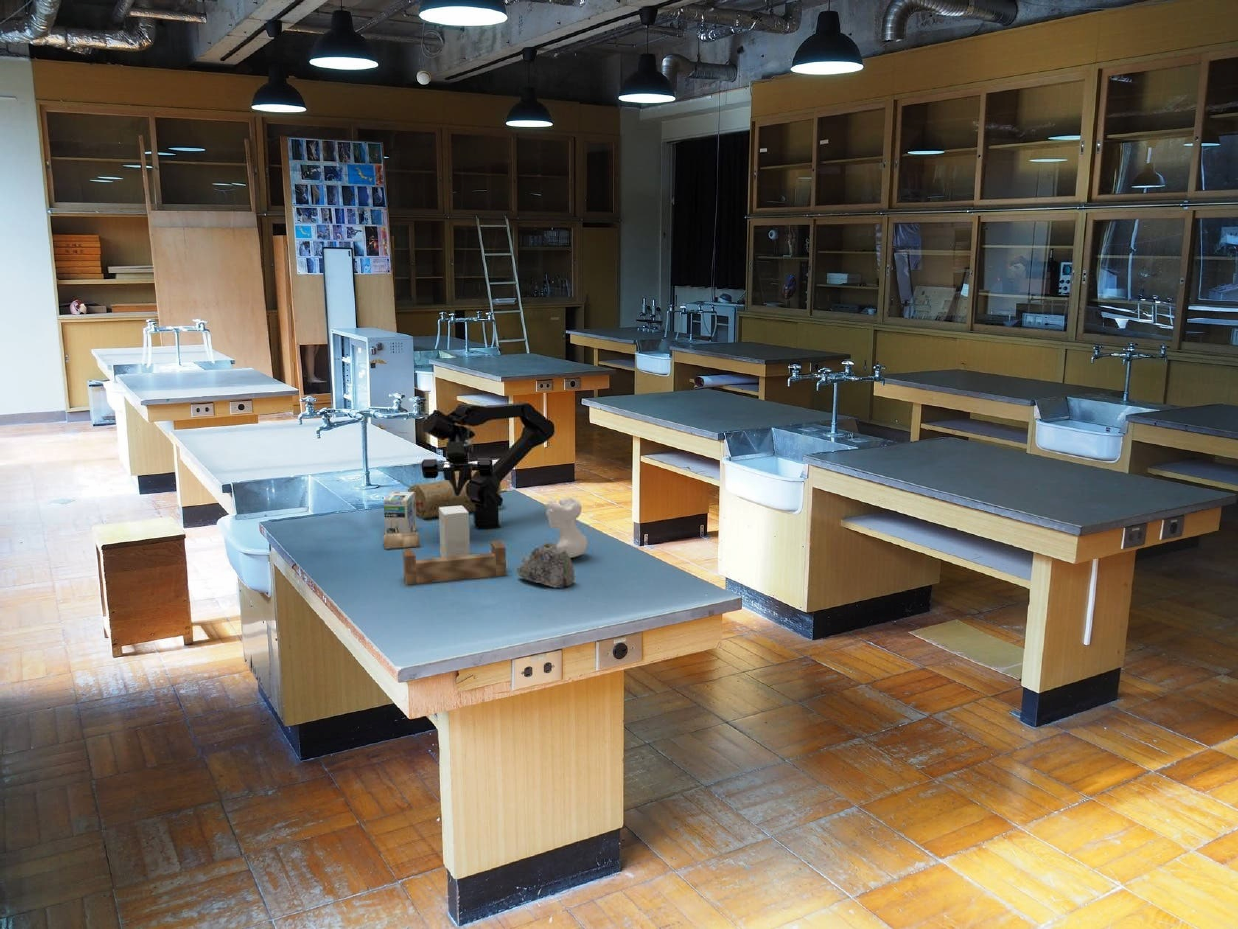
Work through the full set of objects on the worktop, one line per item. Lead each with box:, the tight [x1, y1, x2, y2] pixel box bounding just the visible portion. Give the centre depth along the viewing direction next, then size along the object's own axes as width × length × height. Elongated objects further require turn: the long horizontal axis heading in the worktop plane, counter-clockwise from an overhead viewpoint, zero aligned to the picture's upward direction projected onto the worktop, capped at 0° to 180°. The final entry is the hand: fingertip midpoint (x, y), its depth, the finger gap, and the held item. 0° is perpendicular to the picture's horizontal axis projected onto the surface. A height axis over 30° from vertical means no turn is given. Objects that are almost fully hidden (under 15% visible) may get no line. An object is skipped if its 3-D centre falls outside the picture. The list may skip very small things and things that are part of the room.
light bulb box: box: [383, 491, 418, 535], centre depth 286 cm, size 11×7×11 cm, turn 179°
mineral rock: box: [516, 542, 576, 589], centre depth 244 cm, size 13×11×10 cm
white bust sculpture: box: [545, 497, 588, 559], centre depth 263 cm, size 10×11×15 cm
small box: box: [438, 506, 471, 558], centre depth 262 cm, size 8×6×13 cm
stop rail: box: [402, 540, 507, 586], centre depth 249 cm, size 24×6×7 cm, turn 107°
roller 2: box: [383, 534, 421, 550], centre depth 274 cm, size 9×3×3 cm
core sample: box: [407, 478, 502, 520], centre depth 310 cm, size 14×26×10 cm, turn 123°
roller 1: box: [382, 531, 419, 547], centre depth 277 cm, size 9×3×3 cm, turn 107°
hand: (457, 494), depth 273 cm, fingers closed
